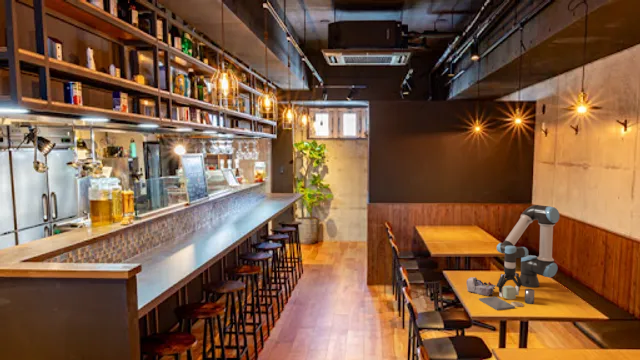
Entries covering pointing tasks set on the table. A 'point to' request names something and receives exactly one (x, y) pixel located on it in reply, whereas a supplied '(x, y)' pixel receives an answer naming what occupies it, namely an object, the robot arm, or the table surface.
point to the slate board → (496, 303)
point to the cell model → (479, 286)
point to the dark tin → (529, 296)
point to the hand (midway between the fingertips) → (509, 295)
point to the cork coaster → (517, 304)
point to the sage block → (509, 292)
